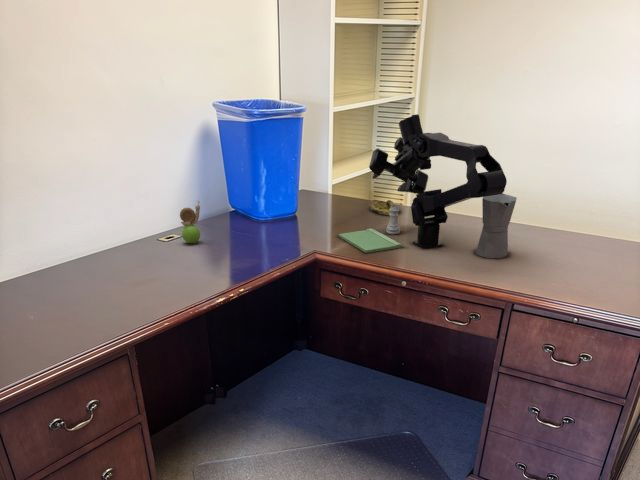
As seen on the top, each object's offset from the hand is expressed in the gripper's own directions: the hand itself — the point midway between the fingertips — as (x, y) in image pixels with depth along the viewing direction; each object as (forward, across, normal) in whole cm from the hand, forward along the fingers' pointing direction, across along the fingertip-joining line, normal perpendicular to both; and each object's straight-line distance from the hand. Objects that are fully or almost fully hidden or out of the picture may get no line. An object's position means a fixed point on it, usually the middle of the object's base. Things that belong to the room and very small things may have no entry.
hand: (385, 183), depth 186 cm
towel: (-4, +2, +22) cm, 22 cm away
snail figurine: (+19, +48, +35) cm, 62 cm away
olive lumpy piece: (+20, -10, -4) cm, 23 cm away
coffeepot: (-25, -26, +21) cm, 42 cm away
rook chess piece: (0, -7, +14) cm, 16 cm away
